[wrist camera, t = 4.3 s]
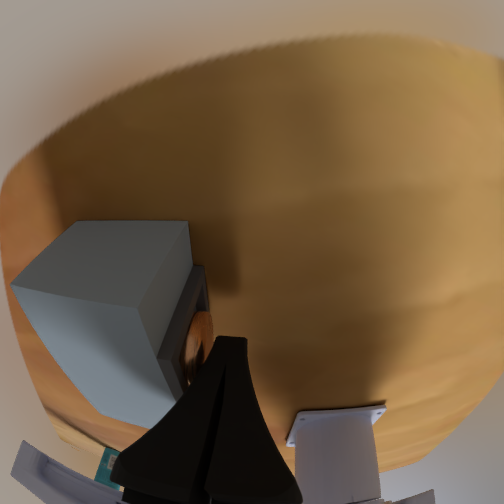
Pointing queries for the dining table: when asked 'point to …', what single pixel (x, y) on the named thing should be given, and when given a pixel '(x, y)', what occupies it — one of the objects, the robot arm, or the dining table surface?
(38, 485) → the robot arm
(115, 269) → the sleeve block
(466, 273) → the dining table surface
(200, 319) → the peg
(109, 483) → the tube
